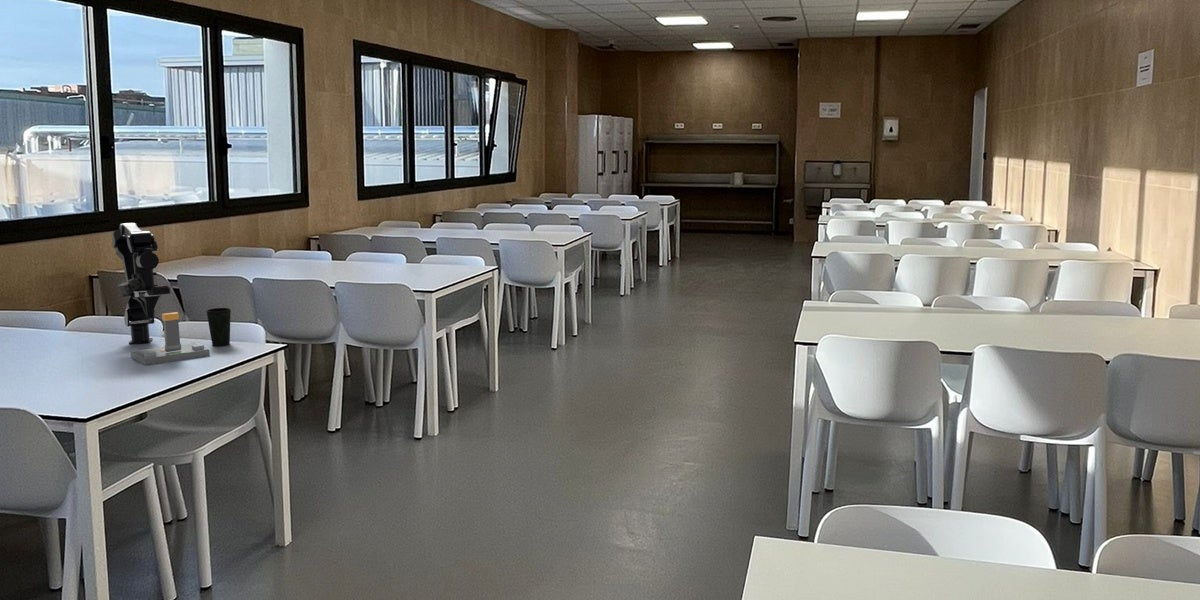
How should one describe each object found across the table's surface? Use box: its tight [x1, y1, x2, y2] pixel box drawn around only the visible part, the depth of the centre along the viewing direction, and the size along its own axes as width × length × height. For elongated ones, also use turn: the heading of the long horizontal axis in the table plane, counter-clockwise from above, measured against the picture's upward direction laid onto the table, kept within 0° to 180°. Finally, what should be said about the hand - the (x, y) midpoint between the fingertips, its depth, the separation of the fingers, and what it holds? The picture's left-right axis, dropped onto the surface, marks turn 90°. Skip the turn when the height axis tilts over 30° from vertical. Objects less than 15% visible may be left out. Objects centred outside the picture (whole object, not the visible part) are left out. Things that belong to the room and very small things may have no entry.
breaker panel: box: [130, 342, 211, 366], centre depth 333 cm, size 14×20×3 cm
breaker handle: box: [161, 311, 182, 352], centre depth 330 cm, size 2×4×12 cm, turn 131°
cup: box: [206, 307, 232, 348], centre depth 349 cm, size 8×8×12 cm
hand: (148, 317), depth 340 cm, fingers closed
